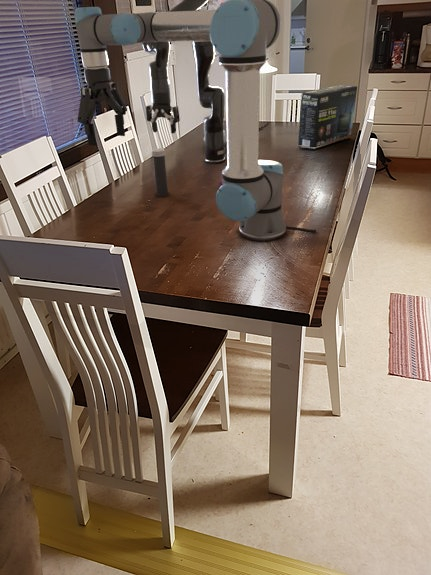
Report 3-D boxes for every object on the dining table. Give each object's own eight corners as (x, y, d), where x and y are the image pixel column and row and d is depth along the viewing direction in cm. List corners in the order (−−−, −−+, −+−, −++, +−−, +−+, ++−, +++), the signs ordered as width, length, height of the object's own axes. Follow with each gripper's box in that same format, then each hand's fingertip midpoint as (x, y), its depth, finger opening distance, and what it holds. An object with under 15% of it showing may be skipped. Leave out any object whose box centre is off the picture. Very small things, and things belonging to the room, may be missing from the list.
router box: (314, 151, 231) (318, 94, 217) (296, 148, 237) (299, 92, 224) (352, 138, 251) (358, 85, 238) (335, 135, 258) (340, 83, 245)
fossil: (226, 140, 241) (207, 122, 244) (216, 157, 248) (198, 139, 251) (243, 138, 255) (225, 121, 258) (233, 155, 261) (216, 138, 264)
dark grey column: (166, 196, 182) (162, 152, 173) (155, 196, 183) (150, 152, 174) (169, 192, 186) (165, 149, 177) (158, 192, 187) (153, 149, 178)
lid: (163, 156, 174) (162, 151, 173) (150, 156, 175) (149, 151, 174) (166, 153, 178) (165, 148, 177) (153, 153, 179) (153, 148, 178)
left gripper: (180, 89, 182) (183, 131, 190) (149, 88, 187) (154, 129, 196) (171, 92, 176) (175, 135, 184) (139, 91, 181) (144, 133, 190)
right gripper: (114, 63, 147) (123, 131, 158) (55, 72, 129) (70, 148, 140) (132, 63, 144) (140, 132, 155) (75, 72, 126) (88, 150, 137)
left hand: (164, 132), depth 190 cm, fingers open, 8 cm apart
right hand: (107, 140), depth 148 cm, fingers open, 13 cm apart
